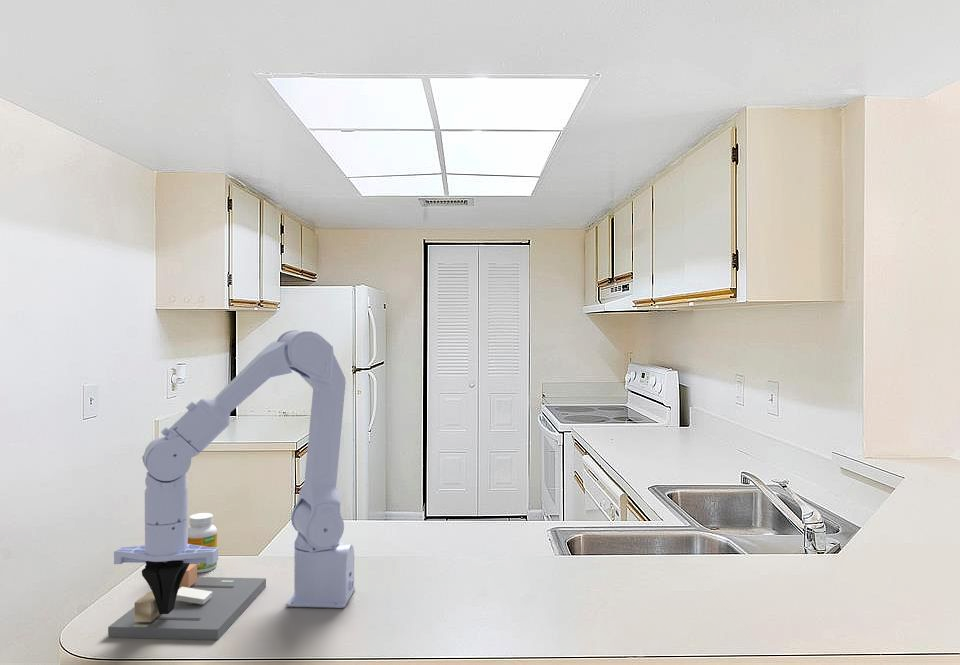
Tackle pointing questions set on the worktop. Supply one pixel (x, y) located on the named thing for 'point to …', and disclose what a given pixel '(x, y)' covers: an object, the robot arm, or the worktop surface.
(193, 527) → the supplement bottle
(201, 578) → the switch panel
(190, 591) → the off-white rocker
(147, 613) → the tan cardboard carton
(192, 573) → the peach slider
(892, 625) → the worktop surface
